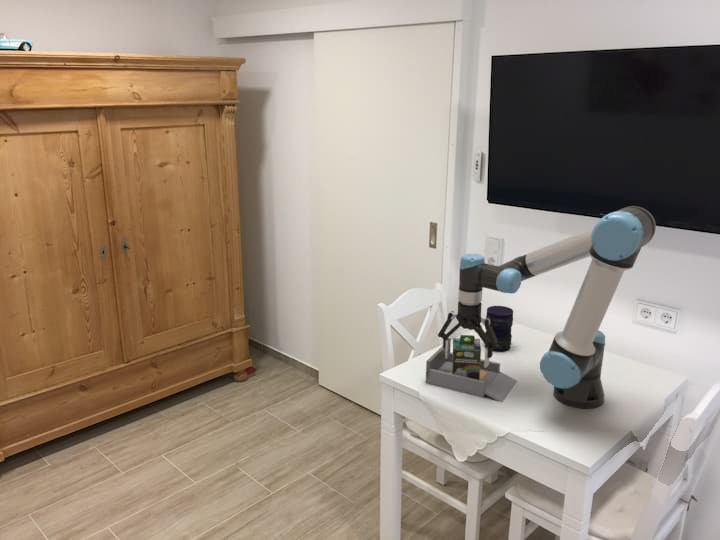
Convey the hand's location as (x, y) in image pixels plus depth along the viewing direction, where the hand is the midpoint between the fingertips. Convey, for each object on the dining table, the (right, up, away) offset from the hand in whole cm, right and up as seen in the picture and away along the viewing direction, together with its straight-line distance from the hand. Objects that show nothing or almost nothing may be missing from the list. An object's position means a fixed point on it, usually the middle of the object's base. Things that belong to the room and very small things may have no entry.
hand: (466, 361), depth 197 cm
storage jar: (+17, +1, +28) cm, 33 cm away
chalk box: (0, -5, +1) cm, 5 cm away
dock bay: (+2, -7, +1) cm, 8 cm away
